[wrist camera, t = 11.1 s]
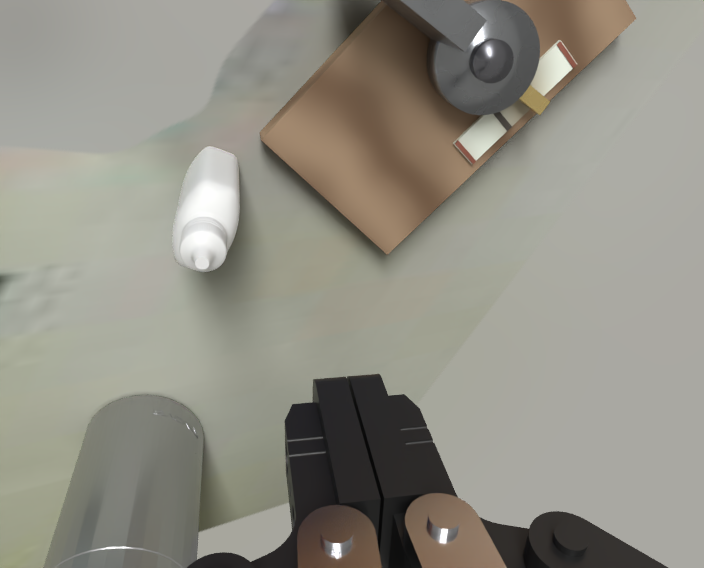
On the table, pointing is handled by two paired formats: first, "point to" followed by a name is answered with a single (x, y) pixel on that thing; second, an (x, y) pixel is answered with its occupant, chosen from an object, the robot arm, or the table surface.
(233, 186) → the eye dropper bottle
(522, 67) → the lever
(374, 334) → the table surface
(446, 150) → the stand
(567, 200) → the table surface
